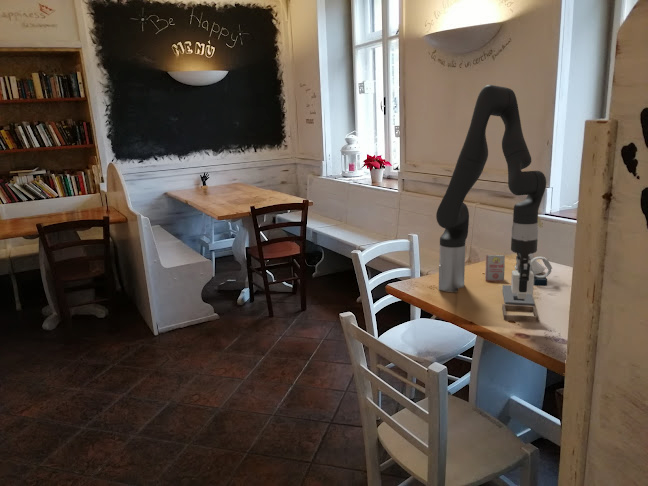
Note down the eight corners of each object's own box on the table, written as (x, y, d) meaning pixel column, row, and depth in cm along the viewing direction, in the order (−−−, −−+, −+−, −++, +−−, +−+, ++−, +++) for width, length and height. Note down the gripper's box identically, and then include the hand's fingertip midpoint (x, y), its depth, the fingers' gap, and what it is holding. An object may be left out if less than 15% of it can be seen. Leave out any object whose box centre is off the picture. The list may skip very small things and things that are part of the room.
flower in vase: (544, 277, 200) (549, 215, 194) (514, 275, 204) (517, 214, 198) (543, 268, 212) (547, 209, 206) (514, 266, 216) (517, 208, 210)
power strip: (505, 311, 169) (505, 300, 168) (502, 294, 185) (502, 283, 184) (534, 313, 167) (534, 301, 166) (528, 295, 182) (529, 284, 181)
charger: (512, 299, 159) (513, 275, 158) (510, 294, 164) (511, 270, 162) (532, 300, 158) (534, 275, 156) (530, 294, 163) (532, 271, 161)
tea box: (485, 277, 203) (486, 253, 201) (502, 278, 202) (504, 254, 199) (485, 280, 200) (486, 256, 197) (503, 281, 198) (505, 256, 196)
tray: (503, 324, 160) (504, 315, 159) (502, 312, 169) (502, 304, 168) (537, 326, 157) (538, 317, 156) (534, 314, 166) (535, 306, 165)
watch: (552, 287, 189) (554, 259, 187) (529, 287, 191) (531, 259, 188) (548, 282, 195) (550, 255, 192) (526, 282, 196) (528, 254, 193)
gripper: (509, 230, 164) (507, 281, 168) (513, 242, 150) (510, 296, 155) (534, 231, 162) (531, 282, 166) (540, 242, 148) (537, 297, 153)
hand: (521, 288), depth 160 cm, fingers closed on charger, 5 cm apart
